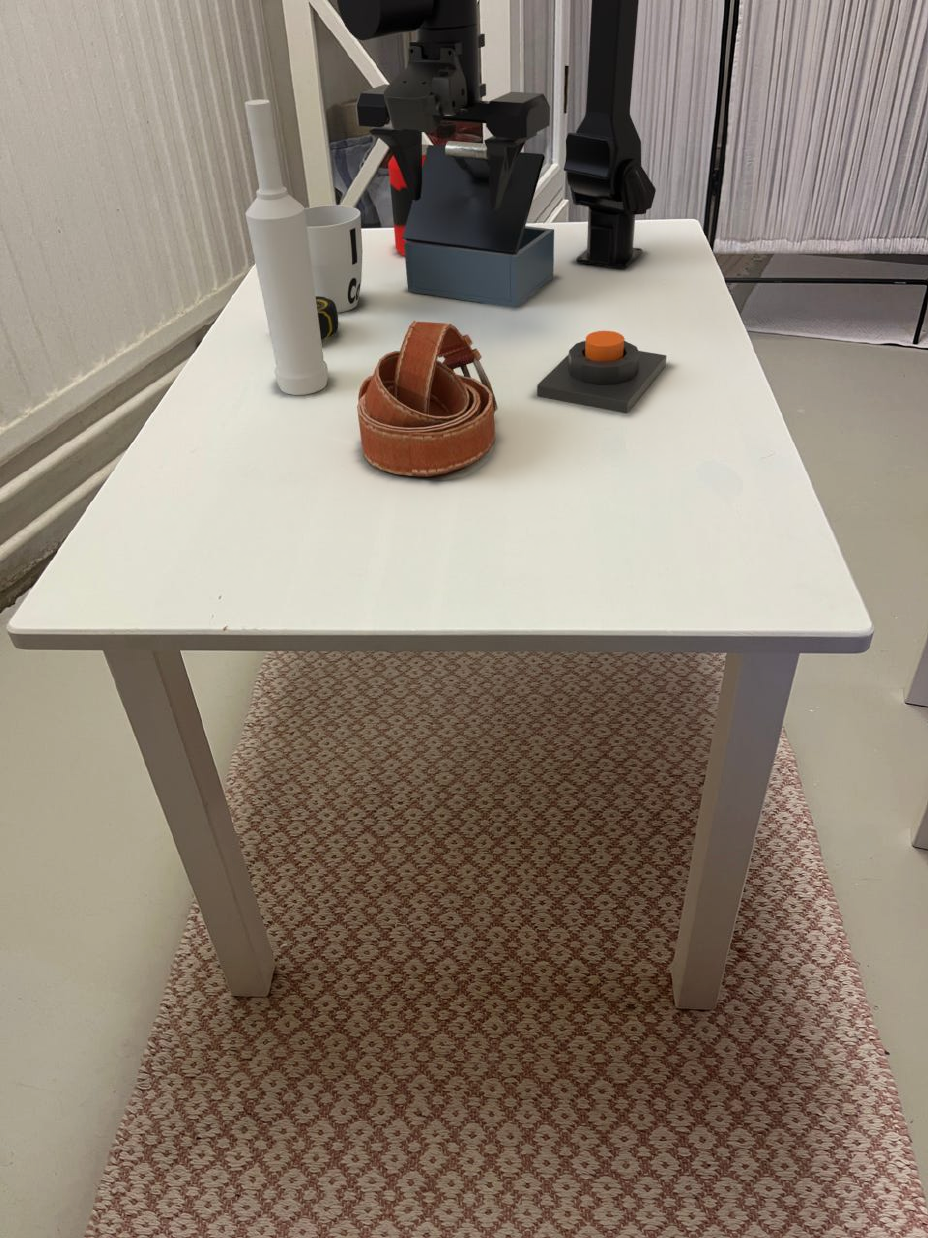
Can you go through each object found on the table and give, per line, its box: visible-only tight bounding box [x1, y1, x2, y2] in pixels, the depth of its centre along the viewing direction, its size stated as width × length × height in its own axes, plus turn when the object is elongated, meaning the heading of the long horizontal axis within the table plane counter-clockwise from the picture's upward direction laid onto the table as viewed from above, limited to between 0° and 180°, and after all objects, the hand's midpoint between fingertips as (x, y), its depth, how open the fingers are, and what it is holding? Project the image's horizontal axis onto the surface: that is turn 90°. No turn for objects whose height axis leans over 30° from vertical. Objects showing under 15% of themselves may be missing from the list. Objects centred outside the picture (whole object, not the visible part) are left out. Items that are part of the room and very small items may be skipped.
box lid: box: [402, 140, 546, 255], centre depth 102 cm, size 11×14×5 cm
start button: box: [585, 330, 625, 362], centre depth 88 cm, size 4×4×2 cm
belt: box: [356, 320, 499, 478], centre depth 79 cm, size 14×13×10 cm
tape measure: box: [316, 296, 340, 342], centre depth 100 cm, size 7×7×4 cm
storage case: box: [404, 225, 555, 309], centre depth 110 cm, size 10×14×6 cm
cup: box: [304, 204, 363, 314], centre depth 105 cm, size 8×8×10 cm
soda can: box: [387, 144, 429, 257], centre depth 119 cm, size 8×8×12 cm
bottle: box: [244, 99, 329, 396], centre depth 84 cm, size 5×5×25 cm
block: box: [536, 339, 667, 414], centre depth 89 cm, size 11×9×3 cm
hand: (455, 204), depth 95 cm, fingers open, 9 cm apart
